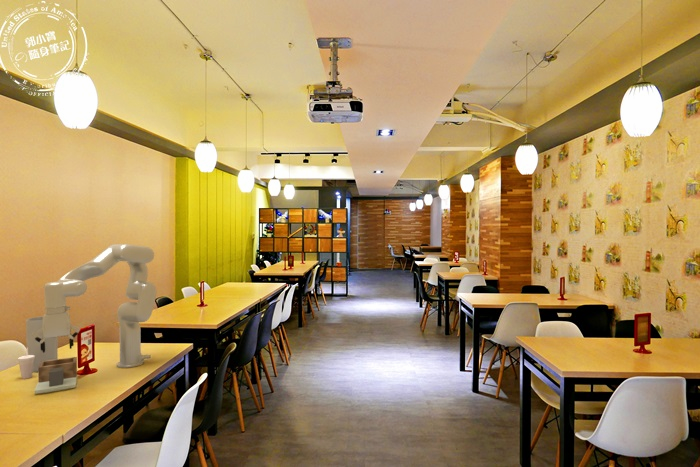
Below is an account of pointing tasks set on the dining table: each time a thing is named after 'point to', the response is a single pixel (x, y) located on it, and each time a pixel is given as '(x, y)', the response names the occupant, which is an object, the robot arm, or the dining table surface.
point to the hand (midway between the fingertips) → (57, 349)
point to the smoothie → (26, 365)
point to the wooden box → (66, 363)
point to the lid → (56, 382)
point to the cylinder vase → (35, 346)
